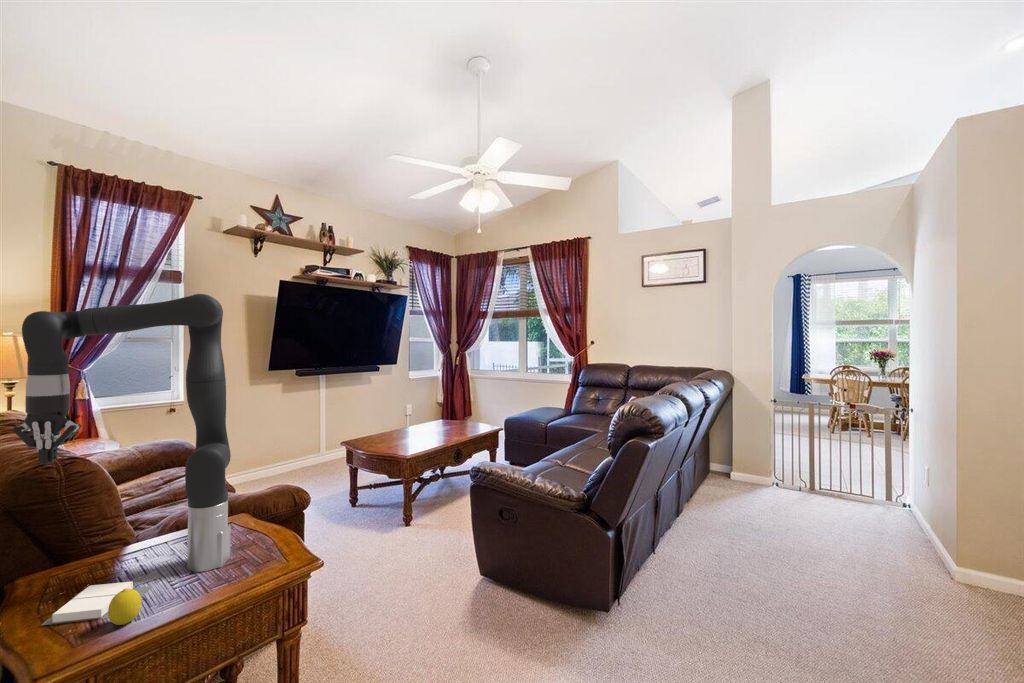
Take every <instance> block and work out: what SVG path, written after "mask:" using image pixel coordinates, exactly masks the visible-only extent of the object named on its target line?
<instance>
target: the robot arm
mask: <svg viewBox="0 0 1024 683" xmlns="http://www.w3.org/2000/svg"><path fill="white" fill-rule="evenodd" d="M223 316H224V310H223V306H222V304H221V303H220V302H219V301H218V300H217V299H216V298H214V297H213V296H210V295H209V294H205V293H194V294H192V295H189V296H184V297H180V298H175V299H171V300H166V301H159V302H152V303H151V302H150V303H141V304H126V305H125V304H124V305H123V304H122V305H121V304H120V305H109V306H97V307H96V306H95V307H89V308H83V309H81V310H72V311H71V310H70V311H56V312H55V311H47V310H46V311H45V310H40V311H34V312H32V313H30V314H28V315H27V316H26V317H25V318H24V320H23V322H22V326H21V336H22V341H23V345H24V349H25V352H26V355H27V367H26V369H27V377H26V382H25V402H24V403H25V404H24V405H25V411H24V412H25V414H26V417H24V418H25V419H24V422H23V423H22V424H21V425H19V426H14V427H13V428H12V431H13V432H14V433H15V434H16V436H18V437H19V439H21V441H22V442H23V443H25V444H26V446H27V447H28V448H35V449H37V450H38V455H37V456H38V462H39V463H40V465H51V464H53V463H55V461H57V459H58V456H57V455H58V447H59V446H63V445H66V444H67V443H68V442H69V441H70V440H71V439H72V437H74V435H75V434H77V432H78V431H79V430H80V429H81V428H82V425H81V424H80V423H75V422H74V421H72V420H71V419H72V418H71V416H70V414H69V411H70V407H71V405H70V404H71V403H70V402H71V401H70V398H71V397H70V396H71V383H70V376H69V369H70V368H69V364H70V363H69V355H68V353H67V352H66V351H65V350H64V348H63V347H64V345H63V340H68V339H74V338H80V337H86V336H102V335H110V334H119V333H128V332H132V331H138V330H144V329H149V328H155V327H157V328H158V327H167V326H168V327H169V326H186V327H187V328H188V335H189V345H190V346H189V352H188V353H189V354H188V359H187V364H186V371H185V372H186V373H185V388H186V389H185V390H186V392H185V393H186V400H187V405H188V408H189V410H190V411H189V412H190V413H191V416H192V418H193V422H194V425H195V431H196V432H195V434H196V435H195V448H194V449H195V450H194V451H193V452H192V453H191V454H189V456H188V458H187V459H186V462H185V469H184V473H185V474H184V475H185V478H184V479H185V480H184V481H185V482H184V483H185V484H184V486H185V487H184V488H185V496H186V497H185V498H186V499H187V559H186V560H187V561H186V562H187V569H188V570H190V571H191V572H193V573H200V572H207V571H211V570H214V569H217V568H218V569H219V568H222V567H223V566H224V565H225V564H226V563H227V561H229V559H230V558H231V524H230V523H228V522H229V521H228V520H229V519H228V514H229V511H228V510H229V490H228V489H227V487H226V469H227V468H228V466H229V464H230V462H231V458H232V457H231V456H232V455H231V449H230V443H229V437H228V432H227V431H228V430H227V424H226V423H227V422H226V421H227V380H226V379H227V378H226V369H225V363H224V362H225V361H224V356H223V351H222V350H223V349H222V325H223ZM63 430H64V432H63V433H62V431H63Z"/></svg>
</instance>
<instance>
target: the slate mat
mask: <svg viewBox="0 0 1024 683" xmlns="http://www.w3.org/2000/svg"><path fill="white" fill-rule="evenodd" d="M153 587H154V586H153V585H149V586H148V585H147V586H138V587H133V589H134V590H136V591H137V592H138V593H139V594H140V596H141V599H142V598H143V597H144V596H145V595H146V594H147V593H148V592H150V590H151V589H152V588H153ZM102 619H103V620H104V619H109V616H108V612H107V613H106V614H104V615H103V616H102V617H101V618H95V619H86V620H77V621H68V622H59V623H56V622H54V623H52V616H50V617H49V618H48V619H46V621H44V622H43V623H42V624H41V626H47V625H57V624H59V625H60V624H67V623H68V624H69V623H74V622H86V621H93V620H94V621H95V620H102Z"/></svg>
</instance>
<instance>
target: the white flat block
mask: <svg viewBox="0 0 1024 683" xmlns="http://www.w3.org/2000/svg"><path fill="white" fill-rule="evenodd" d="M126 588H127V589H133V588H134V581H125V582H124V581H123V582H114V583H113V582H112V583H104V584H93V585H88V586H87V587H86V588H85V589H83V590H82V591H80V592H79V593H78V594H77V595H75V596H74V597H72V600H73V599H83V598H93V597H103V596H113V595H116V594H118V593H119V592H121V591H123V589H126Z"/></svg>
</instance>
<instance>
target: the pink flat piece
mask: <svg viewBox="0 0 1024 683" xmlns="http://www.w3.org/2000/svg"><path fill="white" fill-rule="evenodd" d="M114 596H115V595H113V596H103V597H93V598H83V599H73V598H72V599H70V600H69V601H68V602H67V603H66V604H64V605H63V606H61V607H60V608H59V609H57V611H55V612H54V613H52V616H51V617H52V623H54V622H56V623H59V622H68V621H77V620H86V619H95V618H101V617H102V616H103V615H104V614H106V613H107V612H108V608H109V605H110V602H111V600H112V599H113V597H114ZM95 620H96V619H95ZM86 621H87V620H86ZM77 622H78V621H77ZM68 623H69V622H68ZM59 624H60V623H59Z"/></svg>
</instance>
